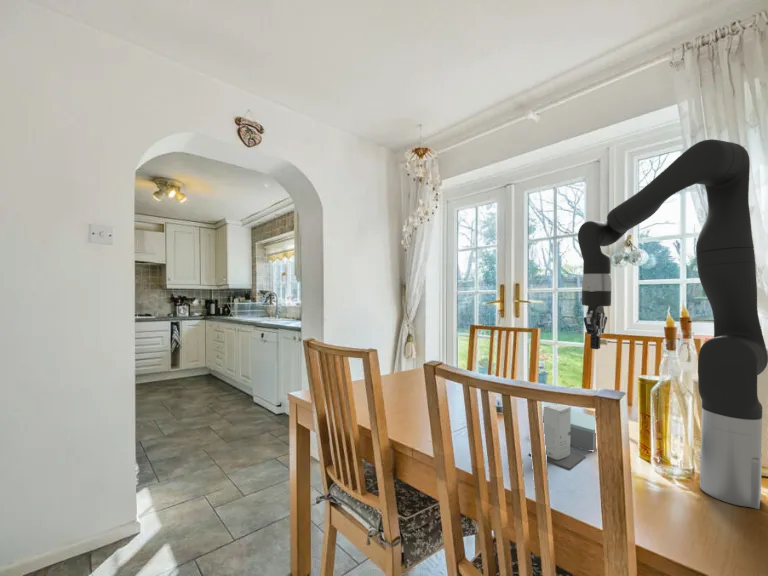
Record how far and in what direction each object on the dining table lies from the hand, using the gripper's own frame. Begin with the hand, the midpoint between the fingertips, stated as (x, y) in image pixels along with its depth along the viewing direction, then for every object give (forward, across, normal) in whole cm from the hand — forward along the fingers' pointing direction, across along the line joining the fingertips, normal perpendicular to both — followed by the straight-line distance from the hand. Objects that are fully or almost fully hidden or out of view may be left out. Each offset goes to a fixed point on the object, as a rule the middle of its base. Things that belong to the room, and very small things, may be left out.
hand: (595, 348), depth 109 cm
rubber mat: (+25, +23, -1) cm, 34 cm away
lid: (+20, +7, -3) cm, 22 cm away
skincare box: (+25, +23, -1) cm, 34 cm away
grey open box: (+25, +7, -3) cm, 26 cm away
